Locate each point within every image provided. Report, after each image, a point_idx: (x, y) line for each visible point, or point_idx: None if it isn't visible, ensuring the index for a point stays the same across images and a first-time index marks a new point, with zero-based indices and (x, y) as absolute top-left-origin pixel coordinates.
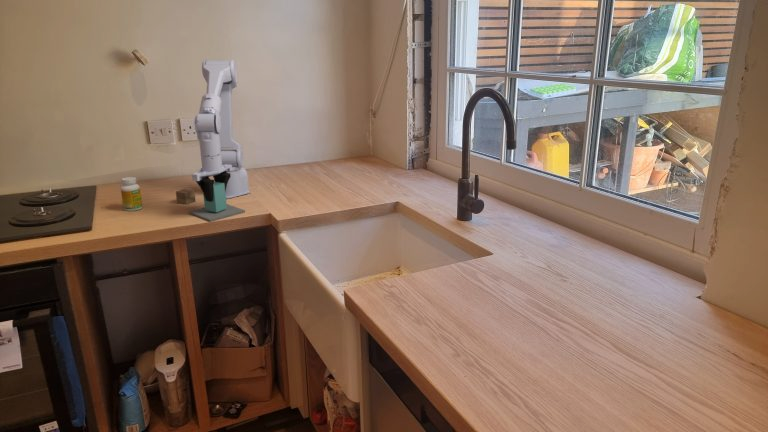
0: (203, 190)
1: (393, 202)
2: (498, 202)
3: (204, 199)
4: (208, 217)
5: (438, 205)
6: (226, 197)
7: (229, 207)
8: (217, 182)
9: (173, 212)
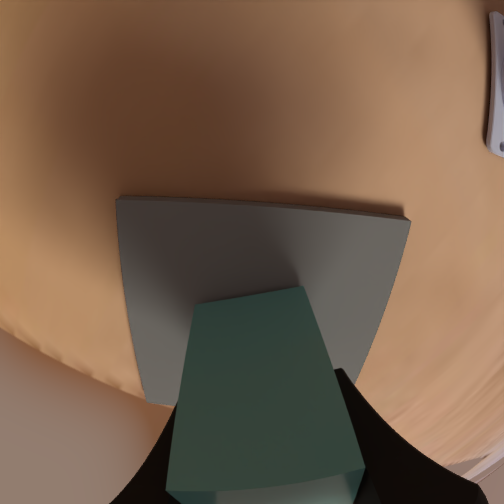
0: (155, 468)
1: (485, 455)
2: (482, 478)
3: (185, 371)
4: (155, 381)
5: (471, 476)
6: (491, 145)
7: (349, 334)
8: (346, 495)
9: (66, 96)
